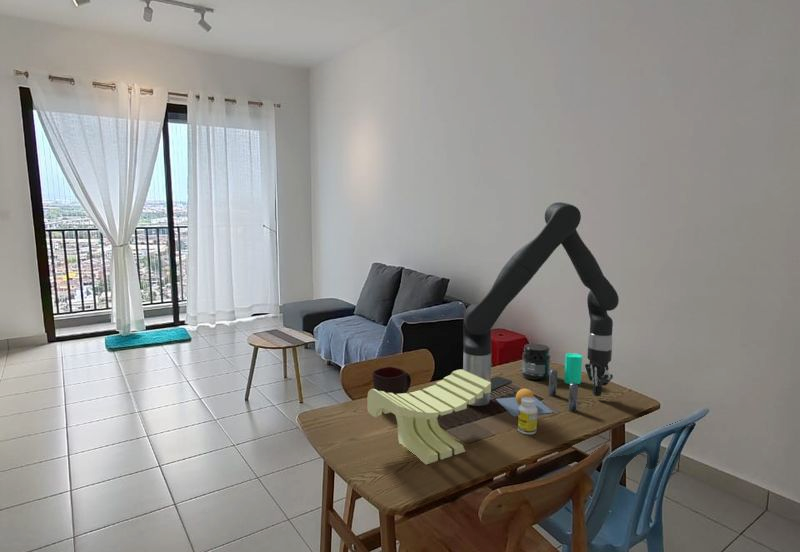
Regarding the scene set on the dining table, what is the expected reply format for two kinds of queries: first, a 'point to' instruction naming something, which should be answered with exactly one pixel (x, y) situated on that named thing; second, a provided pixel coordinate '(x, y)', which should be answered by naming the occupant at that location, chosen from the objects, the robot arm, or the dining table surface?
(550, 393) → the far post
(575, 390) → the near post
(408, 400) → the slatted curved stool
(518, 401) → the ball
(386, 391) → the cup
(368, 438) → the dining table surface
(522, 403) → the supplement bottle
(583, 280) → the robot arm
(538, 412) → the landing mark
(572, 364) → the candle
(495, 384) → the phone
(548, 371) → the supplement container
